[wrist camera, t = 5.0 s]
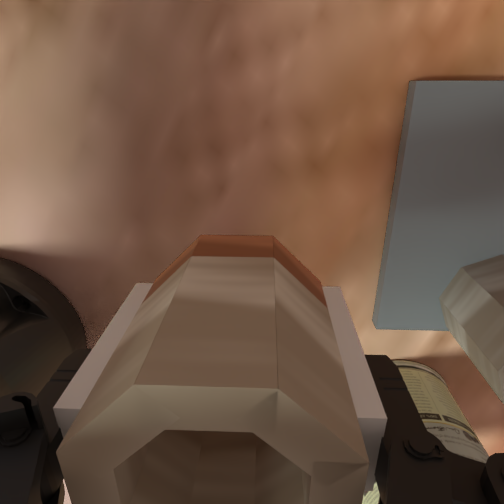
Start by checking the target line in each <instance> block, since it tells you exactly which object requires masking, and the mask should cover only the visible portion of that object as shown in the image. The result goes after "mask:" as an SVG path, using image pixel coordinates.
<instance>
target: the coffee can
mask: <svg viewBox="0 0 504 504" xmlns="http://www.w3.org/2000/svg"><path fill="white" fill-rule="evenodd" d="M393 362H394V363H395V364H396V365H397V366H398V369H399V371H400V373H401V375H402V377H403V381H404V382H405V384H406V386H407V388H408V391H409V392H410V395H411V397H412V399H413V401H414V403H415V405H416V408H417V410H418V412H419V414H420V416H421V419H422V421H423V423H424V425H425V427H426V429H427V431H428V432H430V433H432V434H433V435H434V436H436V437H437V438H438V439H439V440H440V441H441V442H442V444H443V445H444V446H445V448H446V449H447V450H449V451H451V452H453V453H455V454H458V455H460V456H463V457H467V458H470V459H473V460H476V461H480V462H483V463H486V462H487V459H488V457H489V456H488V454H487V452H486V451H485V449H484V448H483V446H482V444H481V442H480V441H479V439H478V438H477V436H476V434H475V433H474V431H473V429H472V428H471V426H470V424H469V423H468V421H467V419H466V418H465V416H464V414H463V413H462V411H461V409H460V408H459V406H458V404H457V403H456V401H455V400H454V398H453V396H452V395H451V393H450V391H449V389H448V387H447V385H446V383H445V381H444V380H443V378H442V377H441V376H440V375H439V374H438V373H437V372H436V371H434V370H433V369H431V368H430V367H428V366H426V365H423V364H420V363H417V362H412V361H404V360H395V361H393ZM379 496H380V493H379V490H378V486H377V482H376V479H375V482H374V487H373V491H364V495H363V501H362V504H378V501H379Z"/></svg>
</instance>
